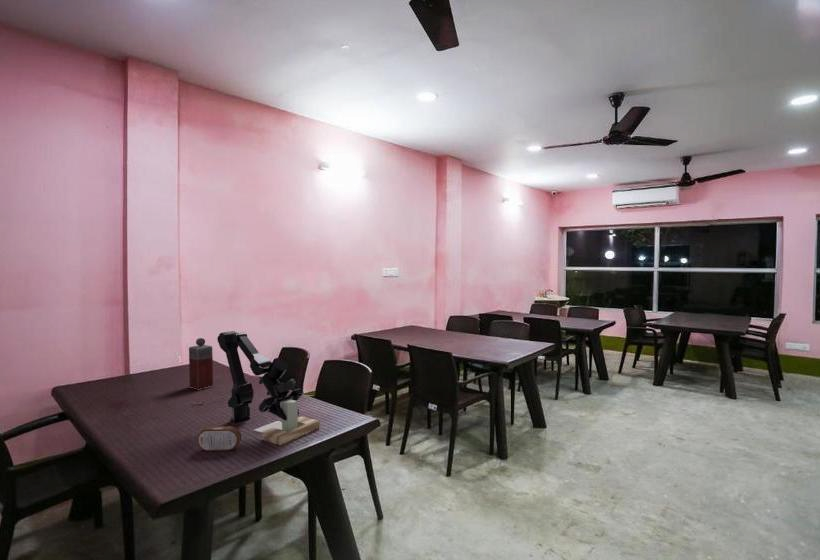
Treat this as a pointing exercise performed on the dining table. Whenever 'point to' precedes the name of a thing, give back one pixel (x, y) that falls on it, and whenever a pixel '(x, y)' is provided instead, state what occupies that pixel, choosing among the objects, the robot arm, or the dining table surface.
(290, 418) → the mint green pillar
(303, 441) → the dining table surface
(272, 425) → the mat
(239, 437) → the tin
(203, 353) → the glass decanter
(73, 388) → the dining table surface
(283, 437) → the stand
